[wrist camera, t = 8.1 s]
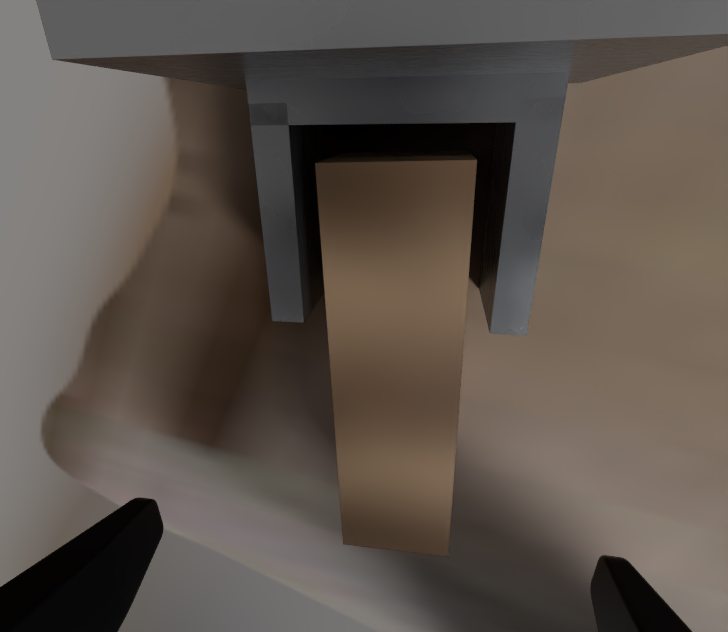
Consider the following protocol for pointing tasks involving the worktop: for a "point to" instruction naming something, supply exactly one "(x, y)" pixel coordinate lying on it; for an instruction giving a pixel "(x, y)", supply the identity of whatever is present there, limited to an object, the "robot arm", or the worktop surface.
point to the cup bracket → (391, 95)
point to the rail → (396, 337)
